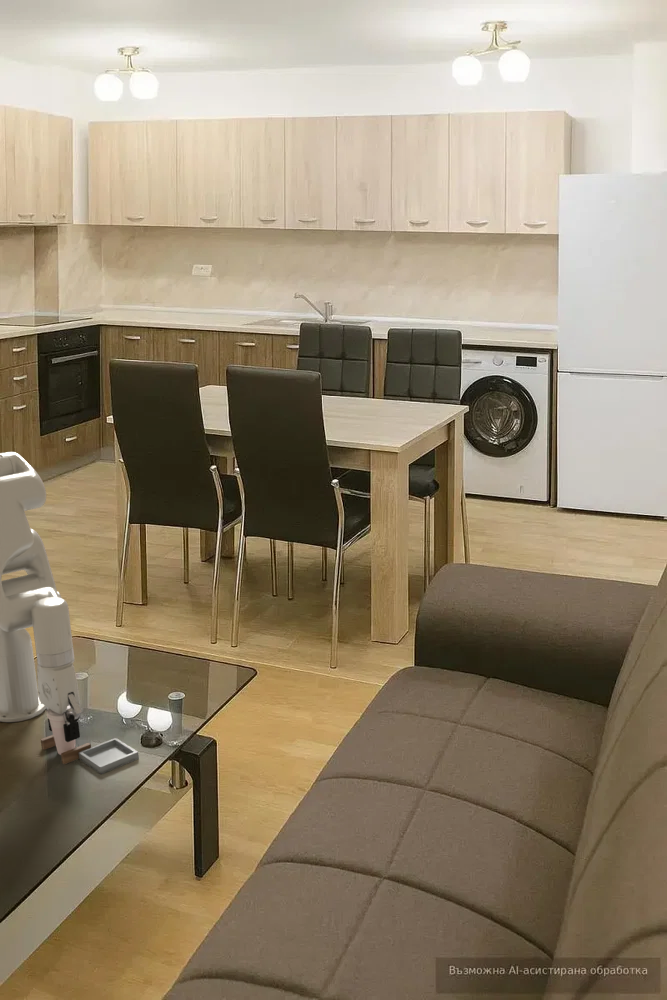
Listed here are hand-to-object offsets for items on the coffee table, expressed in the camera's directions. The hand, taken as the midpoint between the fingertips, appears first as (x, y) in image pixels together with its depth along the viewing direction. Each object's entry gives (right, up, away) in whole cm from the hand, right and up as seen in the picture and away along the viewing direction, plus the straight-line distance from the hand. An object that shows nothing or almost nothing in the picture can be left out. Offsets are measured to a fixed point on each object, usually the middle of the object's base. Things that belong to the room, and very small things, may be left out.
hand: (64, 733), depth 235 cm
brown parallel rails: (0, -4, +1) cm, 4 cm away
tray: (+10, -5, -3) cm, 12 cm away
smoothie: (0, -4, +1) cm, 4 cm away
